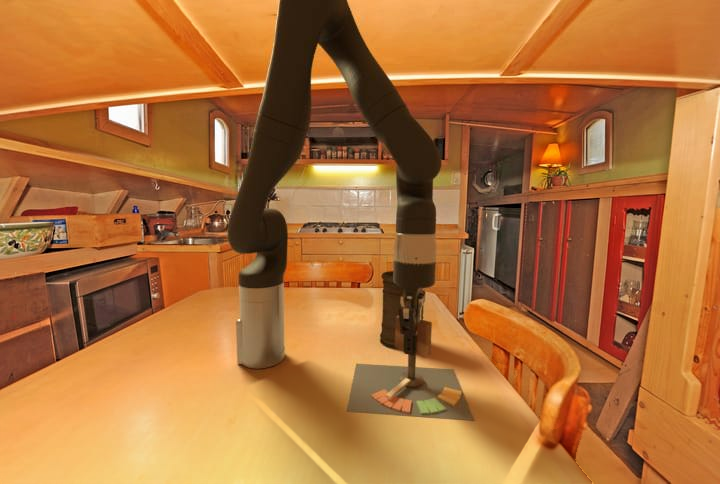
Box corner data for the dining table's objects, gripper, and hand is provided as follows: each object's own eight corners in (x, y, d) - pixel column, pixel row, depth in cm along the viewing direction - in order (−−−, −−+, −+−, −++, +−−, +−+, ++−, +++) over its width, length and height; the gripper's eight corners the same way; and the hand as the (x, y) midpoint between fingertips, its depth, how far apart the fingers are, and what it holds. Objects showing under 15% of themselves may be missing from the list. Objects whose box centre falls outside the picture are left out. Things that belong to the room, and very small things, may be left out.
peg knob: (402, 369, 61) (404, 312, 59) (432, 381, 57) (434, 320, 55) (372, 392, 53) (374, 327, 52) (404, 408, 49) (406, 338, 48)
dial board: (346, 418, 49) (346, 409, 48) (356, 368, 63) (356, 362, 63) (474, 427, 47) (474, 418, 47) (453, 374, 62) (453, 367, 62)
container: (386, 356, 69) (388, 279, 67) (374, 339, 78) (375, 271, 76) (422, 351, 71) (425, 277, 69) (406, 336, 80) (408, 269, 78)
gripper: (430, 266, 47) (426, 372, 48) (439, 254, 60) (436, 338, 62) (383, 262, 49) (381, 363, 51) (402, 252, 62) (400, 332, 64)
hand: (411, 349), depth 56 cm, fingers closed on peg knob, 3 cm apart
